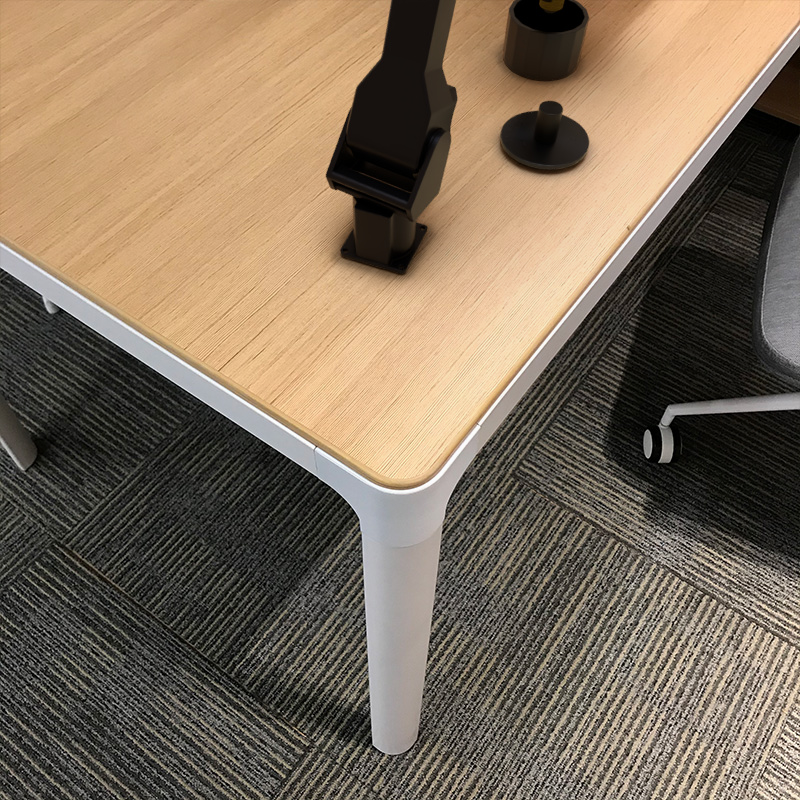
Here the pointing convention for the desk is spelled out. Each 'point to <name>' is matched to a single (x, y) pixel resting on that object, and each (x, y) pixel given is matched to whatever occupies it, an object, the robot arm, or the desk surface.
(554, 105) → the bin lid
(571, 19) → the bin
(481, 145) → the desk surface
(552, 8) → the light bulb
